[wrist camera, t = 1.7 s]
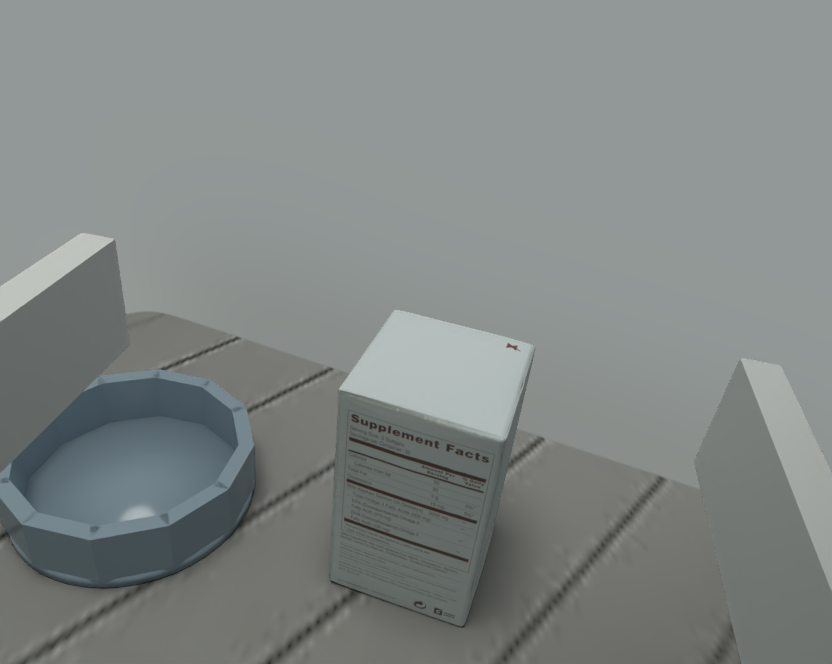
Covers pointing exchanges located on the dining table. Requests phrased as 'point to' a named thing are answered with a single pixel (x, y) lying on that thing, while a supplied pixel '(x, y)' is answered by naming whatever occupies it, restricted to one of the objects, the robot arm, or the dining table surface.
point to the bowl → (131, 480)
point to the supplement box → (424, 461)
